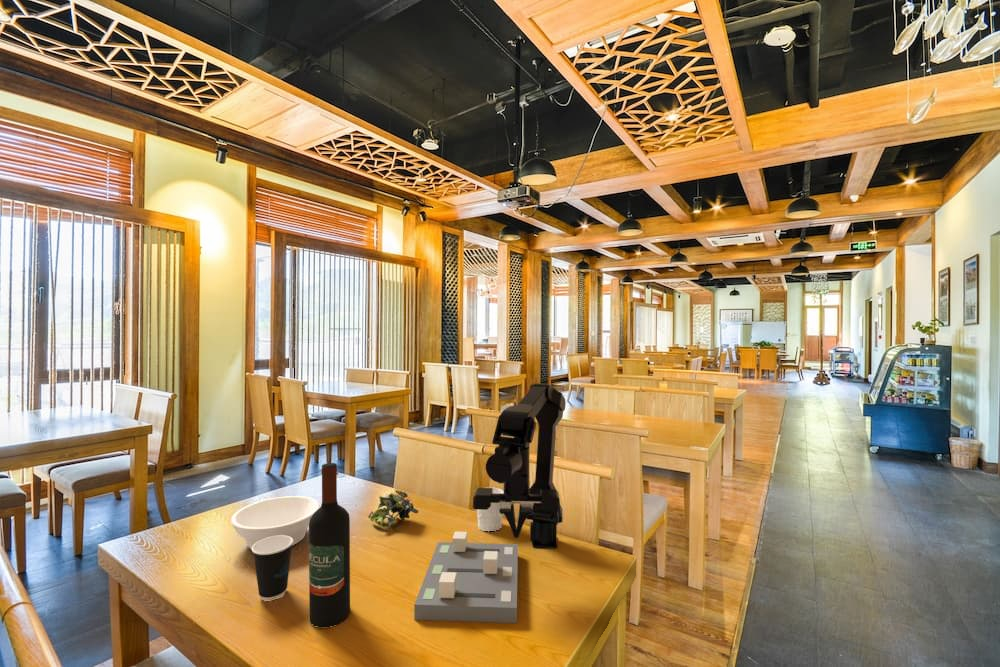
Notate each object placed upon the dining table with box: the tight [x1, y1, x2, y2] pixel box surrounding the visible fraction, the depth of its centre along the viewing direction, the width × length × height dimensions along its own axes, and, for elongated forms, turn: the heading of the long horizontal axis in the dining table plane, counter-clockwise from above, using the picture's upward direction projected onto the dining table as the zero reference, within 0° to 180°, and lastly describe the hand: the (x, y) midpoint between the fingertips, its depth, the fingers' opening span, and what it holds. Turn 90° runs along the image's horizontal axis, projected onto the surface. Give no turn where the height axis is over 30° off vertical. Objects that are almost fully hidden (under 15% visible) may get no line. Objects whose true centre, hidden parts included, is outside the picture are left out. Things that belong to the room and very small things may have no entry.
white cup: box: [476, 486, 504, 533], centre depth 127 cm, size 8×8×10 cm
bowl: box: [230, 495, 321, 550], centre depth 119 cm, size 21×21×8 cm
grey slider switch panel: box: [413, 541, 519, 624], centre depth 99 cm, size 20×25×3 cm
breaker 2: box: [452, 531, 468, 552], centre depth 108 cm, size 3×4×3 cm
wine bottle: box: [308, 462, 351, 628], centre depth 88 cm, size 8×8×30 cm
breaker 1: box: [439, 572, 456, 598], centre depth 90 cm, size 3×4×3 cm
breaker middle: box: [483, 551, 498, 574], centre depth 99 cm, size 3×4×3 cm
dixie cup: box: [251, 535, 293, 601], centre depth 95 cm, size 8×8×11 cm
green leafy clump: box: [368, 490, 419, 530], centre depth 128 cm, size 11×11×12 cm
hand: (516, 537), depth 99 cm, fingers closed
